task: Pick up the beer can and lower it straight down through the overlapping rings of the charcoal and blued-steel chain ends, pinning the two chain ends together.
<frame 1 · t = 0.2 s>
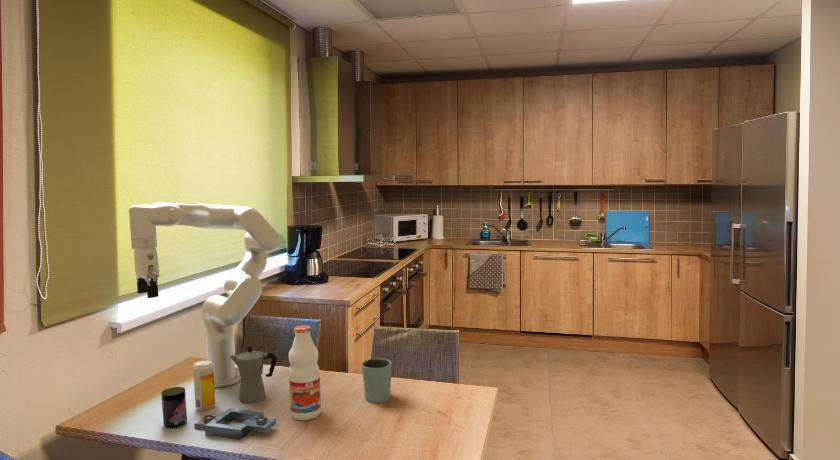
hand: (147, 294, 186), 36 cm above the table, tool pointing down, fingers open, 9 cm apart
coffeepot: (255, 398, 191), on the table
supplement container: (175, 424, 173), on the table
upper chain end: (235, 423, 169), resting on lower chain end
beer can: (205, 408, 185), on the table
drinking glass: (377, 397, 191), on the table
fruit juice: (305, 414, 178), on the table
lower chain end: (235, 428, 170), on the table
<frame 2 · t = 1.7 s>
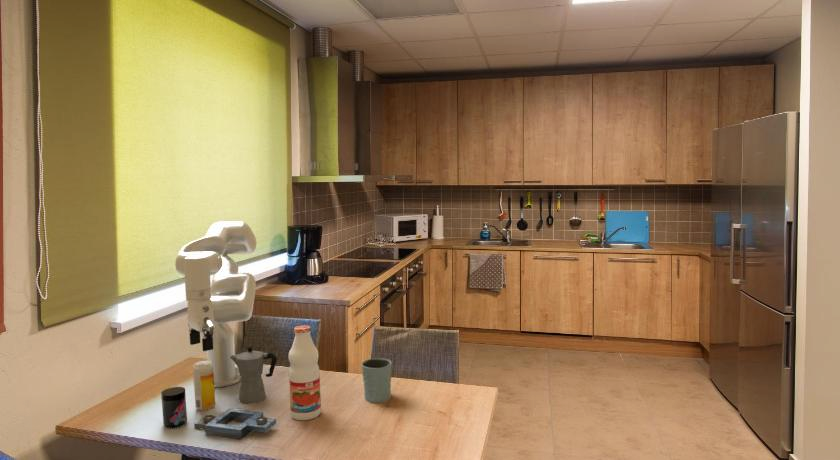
hand: (201, 347, 182), 20 cm above the table, tool pointing down, fingers open, 9 cm apart
nothing on the table moved.
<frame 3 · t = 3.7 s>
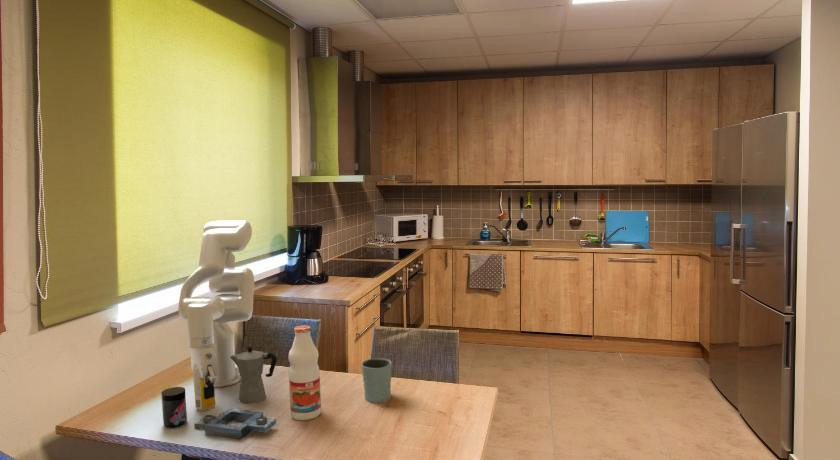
hand: (204, 394, 184), 4 cm above the table, tool pointing down, fingers closed on beer can, 6 cm apart
beer can: (205, 408, 185), on the table, touching gripper
everything else where it was.
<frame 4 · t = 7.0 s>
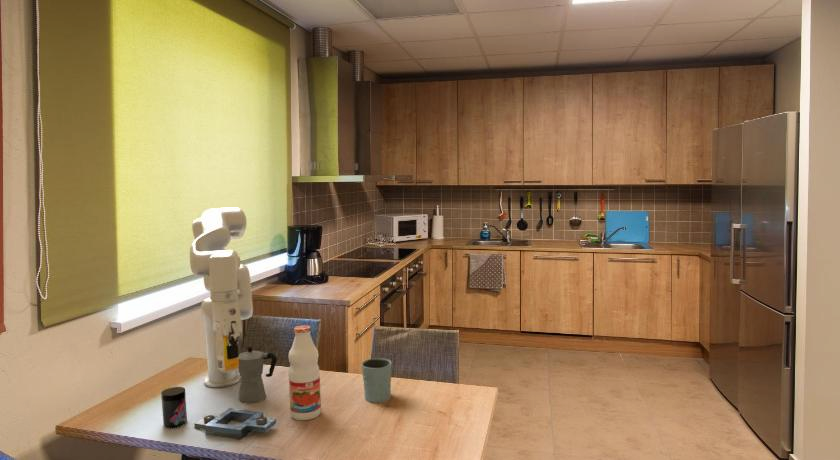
hand: (227, 355, 169), 22 cm above the table, tool pointing down, fingers closed on beer can, 6 cm apart
beer can: (228, 370, 169), point 17 cm above the table, touching gripper
everything else where it was.
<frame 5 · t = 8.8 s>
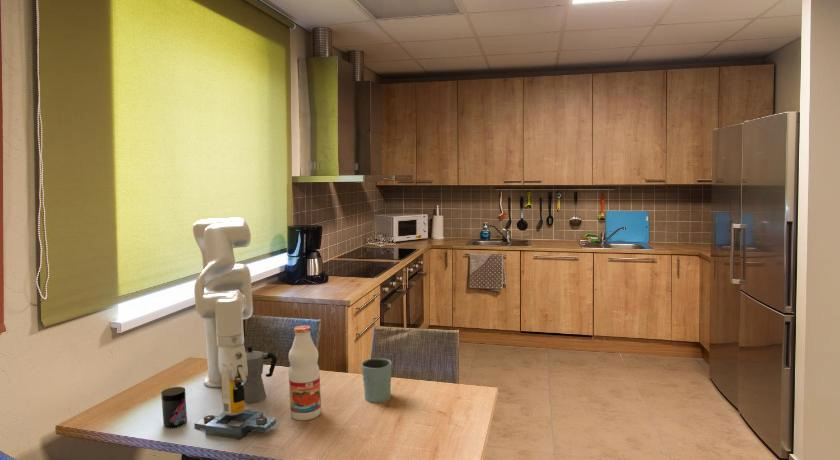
hand: (233, 397, 169), 9 cm above the table, tool pointing down, fingers closed on beer can, 6 cm apart
beer can: (234, 412, 169), point 5 cm above the table, touching gripper
everything else where it was.
when the fingers open (6 cm above the table, at t = 10.3 s): beer can drops 1 cm, resting in lower chain end.
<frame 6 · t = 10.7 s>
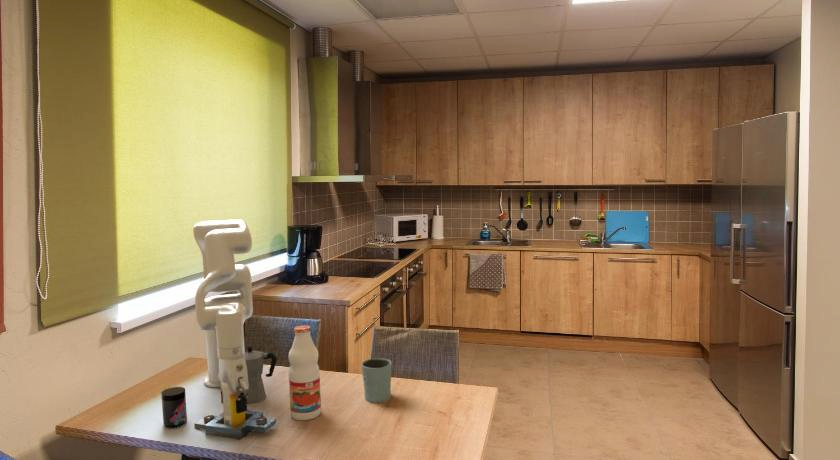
hand: (234, 407, 169), 7 cm above the table, tool pointing down, fingers open, 9 cm apart
beer can: (235, 428, 170), resting in lower chain end
everything else where it was.
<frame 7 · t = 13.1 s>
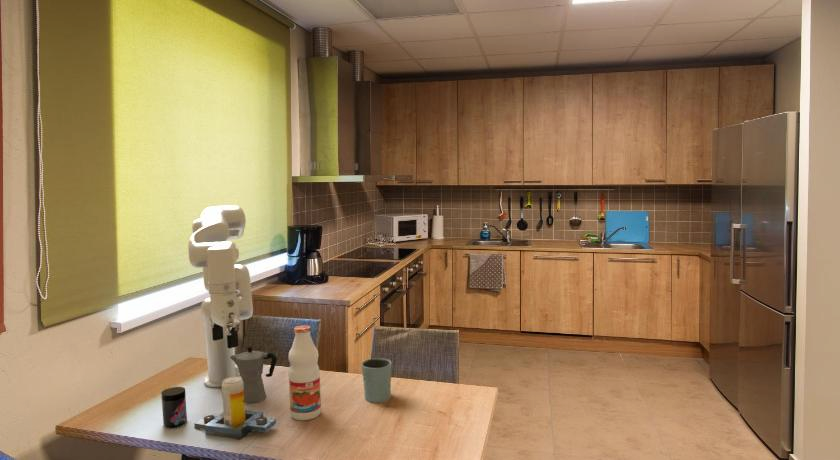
hand: (225, 343, 171), 25 cm above the table, tool pointing down, fingers open, 9 cm apart
nothing on the table moved.
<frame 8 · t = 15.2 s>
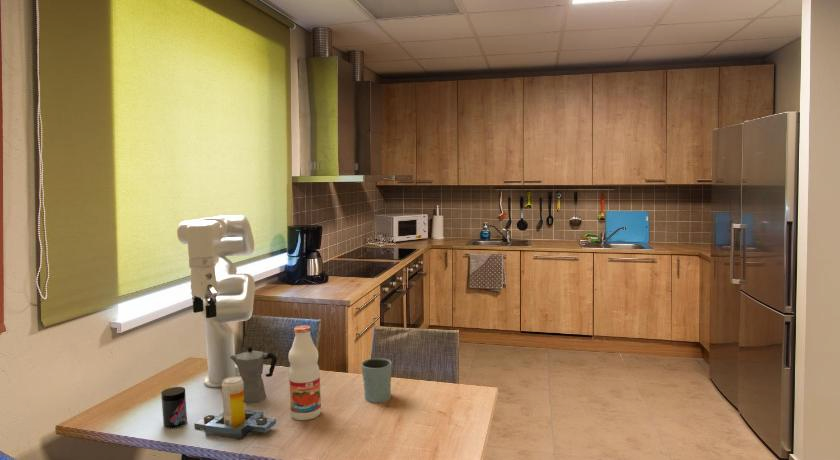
hand: (204, 314, 183), 30 cm above the table, tool pointing down, fingers open, 9 cm apart
nothing on the table moved.
at the end: beer can 0.2 cm off-centre on the lower chain end, point 0.0 cm above the lower chain end's base; beer can tilted 0°; the gripper is holding nothing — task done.
